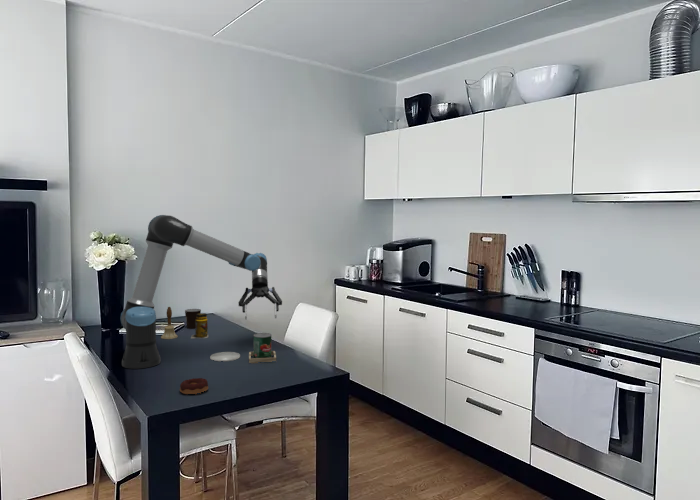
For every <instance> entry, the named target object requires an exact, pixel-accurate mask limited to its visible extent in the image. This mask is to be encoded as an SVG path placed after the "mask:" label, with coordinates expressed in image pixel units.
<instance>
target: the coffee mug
mask: <svg viewBox="0 0 700 500" xmlns="http://www.w3.org/2000/svg"><path fill="white" fill-rule="evenodd" d="M201 312H202V309H201V308H200V309H199V308H187V309H185V310H184V314H185V316H184V317H185V321H186V328H187V329H189V330H194V329H196V327H195V326H196V324H195V320H196V315H197V314H199V313H201Z"/></svg>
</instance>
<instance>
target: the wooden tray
mask: <svg viewBox="0 0 700 500" xmlns="http://www.w3.org/2000/svg"><path fill="white" fill-rule="evenodd" d="M253 353H254V351H249V352H248V364H249V363H251V364H259V363H258V362H272V361H276V362H277V354H276V353H277V352H276V351H275V350H271V355H274V357H271V358H254V356H253V355H254V354H253ZM251 356H253V357H251Z"/></svg>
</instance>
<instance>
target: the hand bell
mask: <svg viewBox="0 0 700 500" xmlns="http://www.w3.org/2000/svg"><path fill="white" fill-rule="evenodd" d="M172 316H173V311H172V308H171V306H167V309H166V318H167V326H165V327H164V331H163V334H162V335H161V336H160V339H162V340H174V339H178V335H177V333H176V332H175V327H174V326H173V325H172Z"/></svg>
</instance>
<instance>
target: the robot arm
mask: <svg viewBox="0 0 700 500" xmlns="http://www.w3.org/2000/svg"><path fill="white" fill-rule="evenodd" d="M147 231H148V232H147V235H146V239H145V242H146V244H147V248H146V250H145V254H144V257H143V260H142V264H141V266H140V269H139V274H138V277H137V279H136V280H137V281H136V284H135V286H134V291H133V293H132V296H131V297H130V298H128V299H126V304H125V307H124V309H123V310H122V312H121V313H120V324H121V326H122V327H123V329H124V330H125V349H124V350H125V351H124V352H123V355H122V359H121V366H122V367H123V368H126V369H132V370H133V369H135V370H137V369H145V368H146V369H147V368H152V367H154V366H158V365H159V364H161V355H160V352H159V349H158V346H157V331H156V330H157V322H156V321H157V314H156V310H155V304H154V303H153V299H154V298H155V294H156V290H157V287H158V283H159V280H160V276H161V273H162V269H163V267H164V264H165V260H166V256H167V254H168V252H169V250H171V249H172V248H173V246H174V244H175V245H179V246H182V247H185V246H188V247H191V248H193V249H195V250H197V251H200V252H203V253H205V254H208V255H209V256H213V257H215V258H218V259H220V260H223V261H225V262H227V263H228V265H231V266H233V267H235V268H240V269H244V270H247V271H250V272H251V288H248V287H246V288H245V290H244V293H243V295H242V296H241V298H240V299H239V301H238V307H241V308H242V313H243V314H244V320H247V319H248V317H247V316H248V315H247V314H248V312H247V311H248V310H247V306H248V305H249V304H250V302H252V301H253V300H254V299H255V298H257V299H258V298H266V299H268V300H269V301H270V302H271V303H272V304H273V305H274V307H273V308H274V309H273V310H274V319H277V316H278V315H277V312H279V310H280V307H279V306H282V305H283V300H282V299H281V297H280V295H279V294H278V293H277V290H275V289H276V288H275V286H272V287H271V288H269V284H268V283H269V282H268V258H267V256H266V255H265V253H262V252H259V253H258V252H256V253H250V252H247V251H245V250H243V249H240V248H238V247H235V246H234V245H231V244H229V243H228V242H227V243H226V242H224V241H222V240H220V239H217V238H215V237H212V236H210V235H207V234H205V233H203V232H201V231H199V230H195V229H194V228H193V226H192V225H190V224H188V223H185V222H183V221H182V220H180V219H179V218H176V217H175V216H173V215H166V214H160V215H156V216H155V217H153V218H152V219H151V220H150V221H149V222H148V225H147ZM269 292H270V293H271V294H272V295H271V294H270V293H269ZM250 293H251V294H250ZM249 294H250V295H249ZM248 295H249V296H248Z"/></svg>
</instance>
